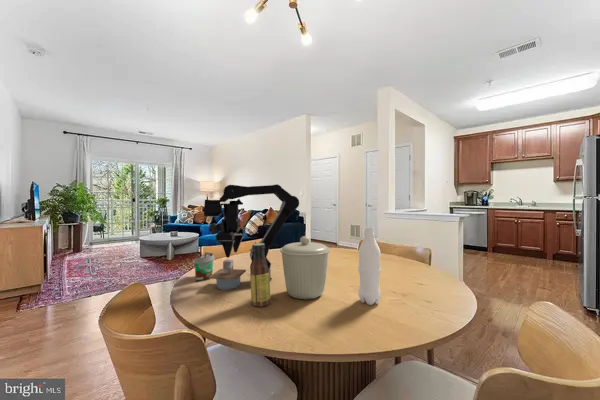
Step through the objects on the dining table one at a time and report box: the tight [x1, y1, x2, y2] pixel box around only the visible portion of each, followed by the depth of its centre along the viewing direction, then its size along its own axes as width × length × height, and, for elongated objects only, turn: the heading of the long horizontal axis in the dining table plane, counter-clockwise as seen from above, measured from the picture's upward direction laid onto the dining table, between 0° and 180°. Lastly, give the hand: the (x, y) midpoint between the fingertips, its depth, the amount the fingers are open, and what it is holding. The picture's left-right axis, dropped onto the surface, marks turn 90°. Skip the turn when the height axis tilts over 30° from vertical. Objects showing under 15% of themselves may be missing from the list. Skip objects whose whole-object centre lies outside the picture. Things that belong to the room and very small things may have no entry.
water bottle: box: [357, 226, 382, 306], centre depth 91 cm, size 7×7×25 cm
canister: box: [279, 235, 331, 300], centre depth 98 cm, size 18×18×21 cm
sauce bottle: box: [249, 242, 271, 308], centre depth 89 cm, size 6×6×20 cm
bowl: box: [215, 276, 241, 291], centre depth 107 cm, size 9×9×4 cm
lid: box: [209, 259, 247, 280], centre depth 107 cm, size 11×11×6 cm
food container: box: [193, 252, 215, 283], centre depth 118 cm, size 12×6×10 cm, turn 179°
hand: (231, 254), depth 109 cm, fingers open, 9 cm apart
